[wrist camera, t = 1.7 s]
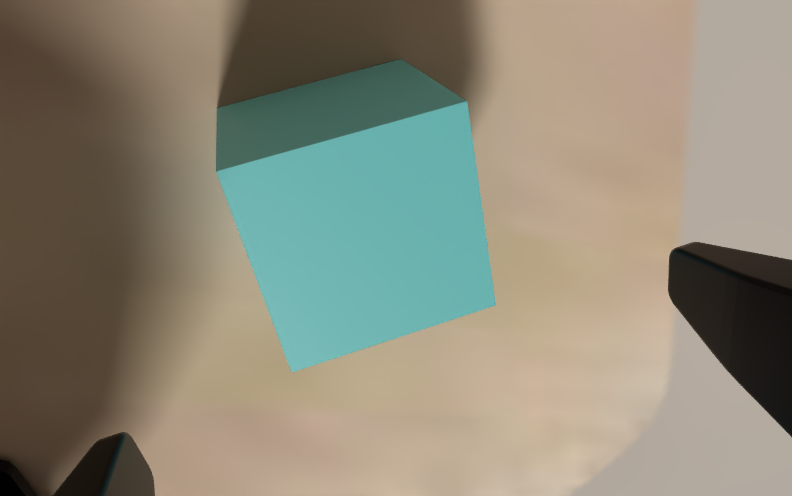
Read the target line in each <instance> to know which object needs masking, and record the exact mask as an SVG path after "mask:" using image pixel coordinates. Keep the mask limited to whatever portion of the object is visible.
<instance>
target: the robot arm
mask: <svg viewBox="0 0 792 496" xmlns="http://www.w3.org/2000/svg"><path fill="white" fill-rule="evenodd" d="M668 292H669V296H670V298H671V300H672V302H673V304H674V305H675V306H676V308H677V309H678V310H679V311H680V313H681V314H682V315H683V316H684V318H685V319H686V320H687V321H688V322H689V324H690V325H691V326H692V328H693V329H694V330H695V331H696V333H697V334H698V335H699V336H700V338H701V339H702V340H703V342H704V343H705V344H706V345H707V346H708V348H709V349H710V350H711V352H712V353H713V354H714V355H715V357H716V358H717V359H718V360H719V361H720V363H721V364H722V365H723V366H724V367H725V369H726V370H727V371H728V372H729V373H730V374H731V375H732V376H733V377H734V378H735V379H736V381H737V382H738V383H739V384H741V386H743V388H744V389H745V390H746V391H747V392H748V393H749V394H750V395H751V396H752V397H753V398H754V399H755V400H756V401H757V402H758V403H759V404H760V405H761V406H762V407H763V408H764V409H765V410H766V411H767V412H768V413H769V414H770V415H771V416H772V417H773V418H774V419H775V420H776V421H777V422H778V424H779V425H781V427H782V428H783V429H784V430H785V431H786V432H787V433H788V434H789V435H790V436H791V437H792V260H789V259H784V258H778V257H773V256H768V255H763V254H758V253H752V252H747V251H741V250H737V249H731V248H726V247H721V246H716V245H710V244H705V243H700V242H692V243H689V244H686V245H683V246H680V247H677V248H675V249H673V250H672V251H671V253H670V256H669V278H668ZM0 496H37V495H36V494H35V492H34V491H33V490H32V488H31V487H30V486H29V485H28V483H27V482H26V481H25V479H24V478H23V477H22V475H21V474H20V473H19V471H18V470H17V469H16V467H15V466H14V465H13V464H11V463H10V462H7V461H5V460H0ZM53 496H155V491H154V480H153V475H152V472H151V469H150V467H149V465H148V464H147V462H146V460H145V459H144V457H143V455H142V454H141V452H140V450H139V448H138V447H137V445H136V443H135V442H134V440H133V438H132V437H131V436H130V435H129V434H128V433H125V432H121V433H118V434H115V435H112V436H109V437H106V438H103V439H100V440H98V441H97V442H96V443H95V444H94V445H93V446H92V447H91V448H90V450H89V451H88V452H87V453H86V455H85V456H84V457H83V458H82V460H81V461H80V462H79V463H78V465H77V466H76V467H75V468H74V470H73V471H72V472H71V473H70V475H69V476H68V477H67V478H66V480H65V481H64V482H63V483H62V485H61V486H60V487H59V488H58V490H57V491H56V492H55V493H54V495H53Z"/></svg>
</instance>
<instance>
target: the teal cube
mask: <svg viewBox="0 0 792 496" xmlns="http://www.w3.org/2000/svg"><path fill="white" fill-rule="evenodd" d="M216 173H217V175H218V178H219V181H220V183H221V186H222V189H223V191H224V194H225V197H226V199H227V202H228V205H229V207H230V210H231V213H232V215H233V218H234V221H235V223H236V226H237V229H238V231H239V234H240V236H241V239H242V242H243V244H244V247H245V250H246V252H247V255H248V258H249V260H250V263H251V266H252V268H253V271H254V274H255V276H256V279H257V282H258V284H259V287H260V290H261V292H262V295H263V298H264V300H265V303H266V306H267V308H268V311H269V314H270V316H271V319H272V322H273V324H274V327H275V330H276V332H277V335H278V338H279V340H280V343H281V346H282V348H283V351H284V354H285V356H286V359H287V362H288V364H289V367H290V370H291V372H295V371H298V370H301V369H304V368H307V367H310V366H313V365H316V364H319V363H322V362H325V361H328V360H331V359H334V358H337V357H340V356H343V355H346V354H349V353H352V352H355V351H358V350H361V349H364V348H367V347H370V346H373V345H377V344H380V343H383V342H386V341H389V340H392V339H395V338H398V337H401V336H404V335H407V334H410V333H413V332H416V331H419V330H422V329H425V328H428V327H431V326H434V325H437V324H440V323H443V322H446V321H449V320H452V319H455V318H458V317H461V316H465V315H468V314H471V313H474V312H477V311H480V310H483V309H486V308H489V307H492V306H495V305H496V303H495V296H494V289H493V282H492V275H491V268H490V261H489V253H488V246H487V239H486V232H485V225H484V218H483V211H482V204H481V197H480V189H479V182H478V175H477V168H476V161H475V154H474V147H473V140H472V132H471V125H470V118H469V111H468V104H467V101H466V100H464V99H463V98H461V97H460V96H458V95H457V94H455V93H454V92H452V91H450V90H449V89H447V88H446V87H444V86H443V85H441V84H440V83H438V82H437V81H435V80H433V79H432V78H430V77H429V76H427V75H426V74H424V73H423V72H421V71H420V70H418V69H416V68H415V67H413V66H412V65H410V64H409V63H407V62H406V61H404V60H402V59H399V60H395V61H391V62H388V63H384V64H380V65H376V66H373V67H369V68H365V69H361V70H358V71H354V72H350V73H346V74H343V75H339V76H335V77H331V78H328V79H324V80H320V81H316V82H313V83H309V84H305V85H301V86H298V87H294V88H290V89H286V90H282V91H279V92H275V93H271V94H267V95H264V96H260V97H256V98H252V99H249V100H245V101H241V102H237V103H234V104H230V105H226V106H222V107H219V108H217V139H216Z"/></svg>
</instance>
